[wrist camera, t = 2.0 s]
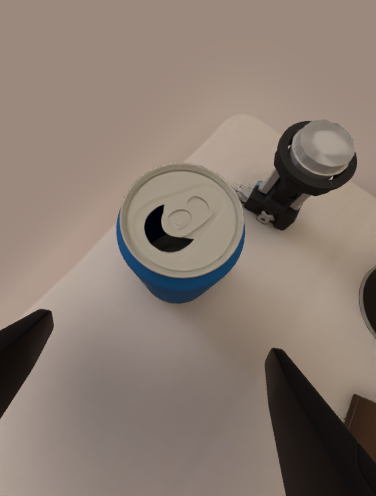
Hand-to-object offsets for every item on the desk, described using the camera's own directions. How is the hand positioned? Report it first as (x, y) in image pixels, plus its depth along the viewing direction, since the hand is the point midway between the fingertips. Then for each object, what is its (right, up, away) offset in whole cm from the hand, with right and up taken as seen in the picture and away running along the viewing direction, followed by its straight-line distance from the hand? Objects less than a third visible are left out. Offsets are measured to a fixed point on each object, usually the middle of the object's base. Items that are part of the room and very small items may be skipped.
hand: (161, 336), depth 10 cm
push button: (+9, +8, +15) cm, 19 cm away
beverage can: (0, +2, +13) cm, 13 cm away
